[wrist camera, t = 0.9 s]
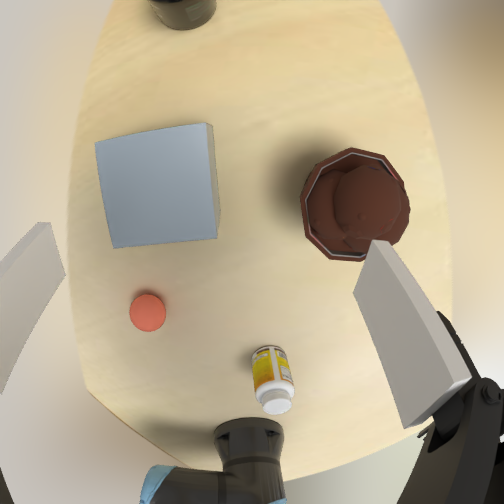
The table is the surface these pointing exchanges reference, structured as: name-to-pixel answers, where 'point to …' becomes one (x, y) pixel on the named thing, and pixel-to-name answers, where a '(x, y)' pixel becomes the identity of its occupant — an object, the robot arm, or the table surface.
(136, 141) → the block
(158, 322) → the ball
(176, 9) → the supplement bottle
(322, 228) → the ice cream bowl
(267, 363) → the supplement bottle
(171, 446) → the table surface
